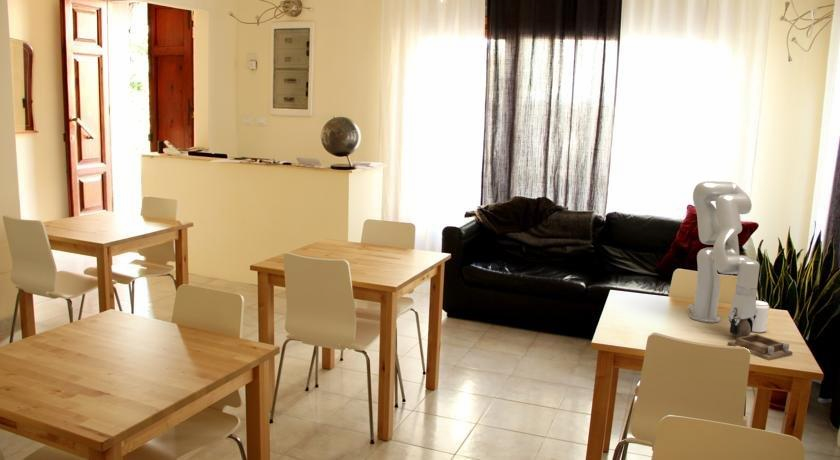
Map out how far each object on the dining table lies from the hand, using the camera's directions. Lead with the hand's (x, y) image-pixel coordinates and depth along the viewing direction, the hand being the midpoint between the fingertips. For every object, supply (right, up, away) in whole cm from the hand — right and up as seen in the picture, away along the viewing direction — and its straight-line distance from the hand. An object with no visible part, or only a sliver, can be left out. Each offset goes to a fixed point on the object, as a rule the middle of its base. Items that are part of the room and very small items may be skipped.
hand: (740, 332), depth 294 cm
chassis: (+1, -5, -14) cm, 14 cm away
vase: (0, -2, 0) cm, 2 cm away
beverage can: (+11, -1, +11) cm, 16 cm away
